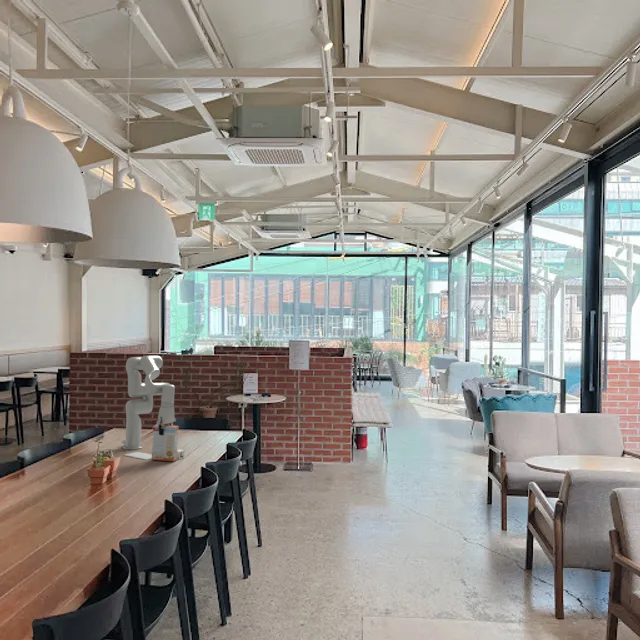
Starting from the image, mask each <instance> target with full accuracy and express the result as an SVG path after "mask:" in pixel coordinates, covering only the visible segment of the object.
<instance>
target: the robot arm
mask: <svg viewBox="0 0 640 640" xmlns="http://www.w3.org/2000/svg"><path fill="white" fill-rule="evenodd" d="M163 365H164V361H163V358H162V357H161V356H160V355H143V356H133V357H132V356H131V357H129V358H128V359H127V360H126V363H125V369H126V372H127V373H126V374H127V394H128V396H129V397H130V398H143V399H131V400H128V401H127V402H126V403H125V413H126V414H125V416H126V421H125V422H126V423H125V439H123V440H122V441H121V444H123V445H122V449H124V450H141V449H143V445H142V444H141V440H142V439H141V438H142V436H141V435H142V419H141V417H140V416H139V415H145V414H149V413H152V411H153V408H154V407H153V406H154V402H153V401H154V399H153V398H154V396H161V398H160V399H161V400H160V401H161V402H160V407H159V410H158V415H157V421H156V425H157V426H158V428H159V435H164V429H163V427H164V425H173V426H175V425H176V421H177V418H176V417H175V416H176V415H175V414H176V413H175V393H176V392H175V389H176V387H175V385H174V384H171V383H170V382H153V380H155V379H156V378H158V377H159V376H160V374H161V371H160V369H161V368H163ZM139 370H140V371H143V372H144V373H145V378H144V382H142V374H141V373H140V371H139ZM161 425H162V426H161Z"/></svg>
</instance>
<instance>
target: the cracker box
mask: <svg viewBox="0 0 640 640" xmlns="http://www.w3.org/2000/svg"><path fill="white" fill-rule="evenodd" d="M161 426H162V425H161ZM152 427H153V428H152V430H153V431H152V445H151V446H152V449H151V454H152V459H151V460H152V461H161V462H175V461H177V460H178V459H177V449H178V443H179V425H174V426H173V425H169V424H165V425H164V427H163V429H164V435H159V428H158V426H157V424H155V425H153V426H152Z"/></svg>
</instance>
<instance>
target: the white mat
mask: <svg viewBox="0 0 640 640" xmlns="http://www.w3.org/2000/svg"><path fill="white" fill-rule="evenodd" d="M123 456H124V457H129V458H134V459H139V460H144V461H149V460H152V453H146V452H141V451H134V452H130V453H126V454H123Z"/></svg>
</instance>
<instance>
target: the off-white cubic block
mask: <svg viewBox="0 0 640 640" xmlns="http://www.w3.org/2000/svg"><path fill="white" fill-rule="evenodd" d="M183 459H185V450H184V449H179V448H177V460H178V461H179V460H183Z"/></svg>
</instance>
